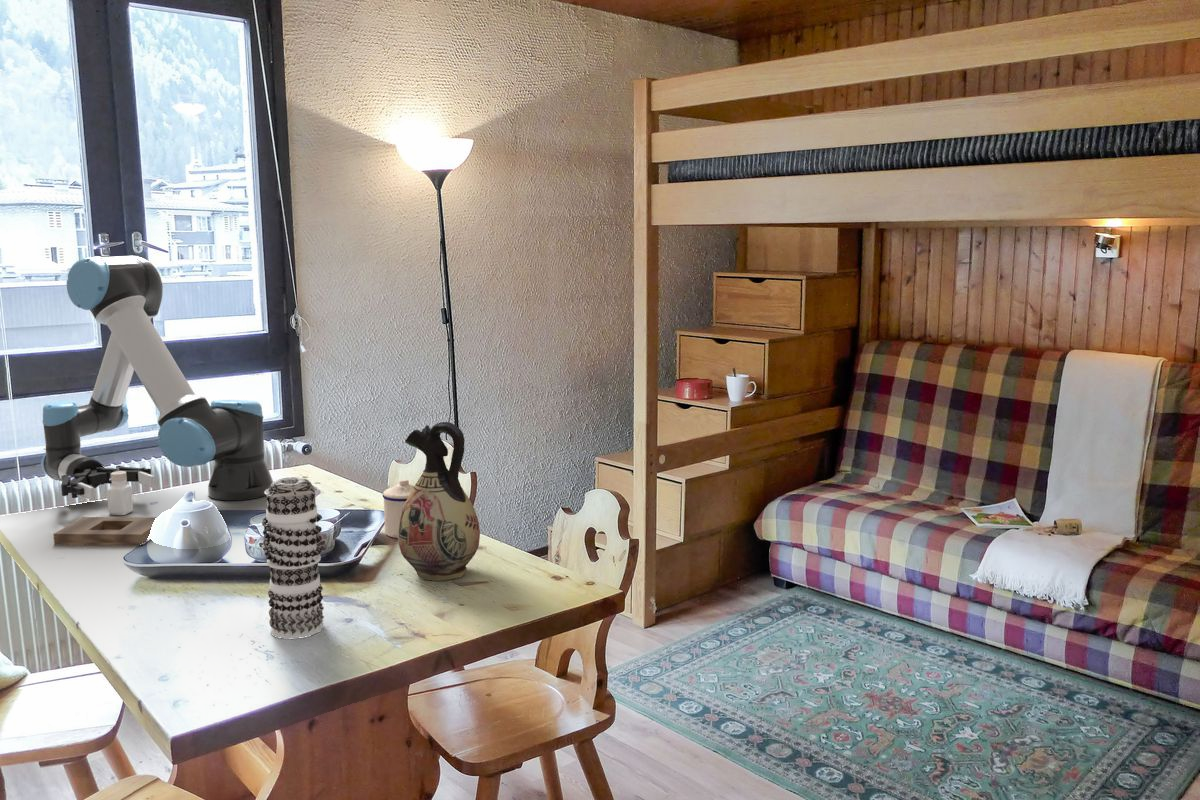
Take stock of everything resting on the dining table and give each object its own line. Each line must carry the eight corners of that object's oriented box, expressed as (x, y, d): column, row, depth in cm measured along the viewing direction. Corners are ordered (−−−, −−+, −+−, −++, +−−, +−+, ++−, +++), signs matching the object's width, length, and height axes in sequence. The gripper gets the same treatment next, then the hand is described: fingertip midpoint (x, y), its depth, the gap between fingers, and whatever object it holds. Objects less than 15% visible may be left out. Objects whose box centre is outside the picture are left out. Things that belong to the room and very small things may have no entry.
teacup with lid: (435, 532, 213) (433, 480, 211) (399, 541, 207) (397, 487, 205) (403, 520, 222) (402, 470, 220) (368, 529, 215) (366, 477, 213)
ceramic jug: (381, 579, 185) (376, 422, 180) (431, 555, 199) (428, 408, 193) (455, 595, 177) (452, 431, 172) (503, 569, 191) (501, 417, 186)
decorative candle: (304, 613, 169) (298, 470, 164) (337, 627, 163) (332, 480, 158) (256, 630, 162) (248, 481, 157) (289, 645, 156) (281, 491, 151)
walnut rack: (167, 528, 215) (166, 517, 215) (142, 545, 203) (141, 534, 203) (83, 527, 215) (83, 516, 214) (54, 545, 203) (53, 533, 203)
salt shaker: (134, 511, 227) (131, 470, 226) (124, 516, 223) (121, 475, 222) (118, 510, 228) (115, 470, 226) (108, 515, 224) (104, 474, 222)
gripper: (135, 477, 246) (178, 492, 233) (27, 498, 227) (67, 515, 214) (133, 448, 245) (176, 461, 232) (24, 466, 226) (64, 482, 213)
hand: (123, 487), depth 223 cm, fingers open, 13 cm apart
